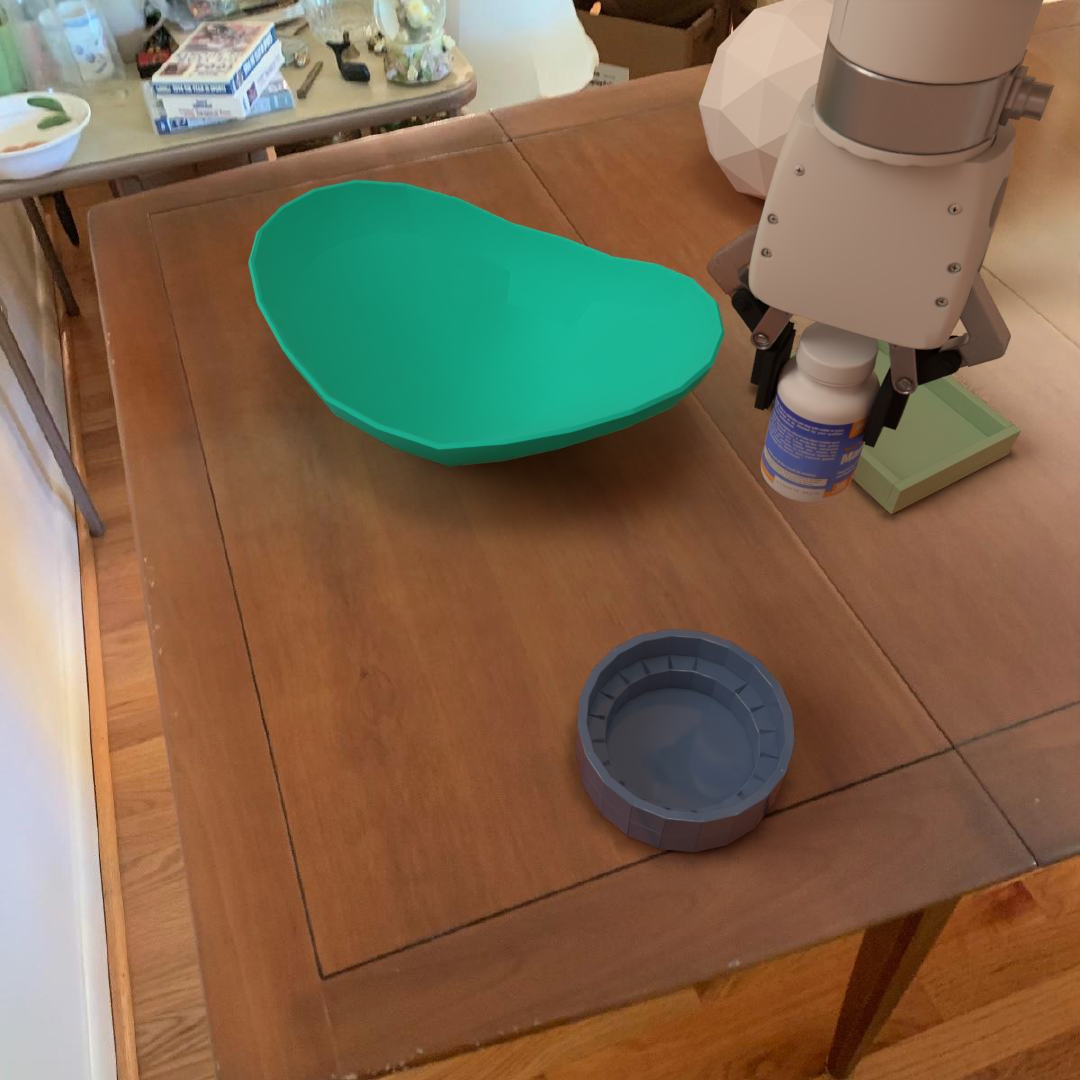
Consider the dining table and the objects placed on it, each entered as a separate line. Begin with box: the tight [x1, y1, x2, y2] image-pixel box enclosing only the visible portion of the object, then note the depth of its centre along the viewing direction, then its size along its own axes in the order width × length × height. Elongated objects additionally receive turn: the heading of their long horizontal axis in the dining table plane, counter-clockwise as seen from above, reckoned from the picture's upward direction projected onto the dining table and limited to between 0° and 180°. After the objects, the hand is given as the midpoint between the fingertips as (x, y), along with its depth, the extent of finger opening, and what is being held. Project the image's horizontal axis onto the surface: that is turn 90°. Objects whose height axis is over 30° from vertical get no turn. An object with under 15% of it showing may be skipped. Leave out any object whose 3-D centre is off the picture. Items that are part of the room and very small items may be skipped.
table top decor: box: [247, 179, 726, 467], centre depth 80 cm, size 40×28×13 cm
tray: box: [756, 339, 1022, 515], centre depth 82 cm, size 17×13×3 cm
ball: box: [698, 0, 835, 201], centre depth 99 cm, size 19×20×20 cm
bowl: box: [575, 628, 796, 853], centre depth 62 cm, size 13×13×5 cm
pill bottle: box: [760, 321, 880, 504], centre depth 54 cm, size 5×5×10 cm
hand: (821, 409), depth 54 cm, fingers closed on pill bottle, 5 cm apart
